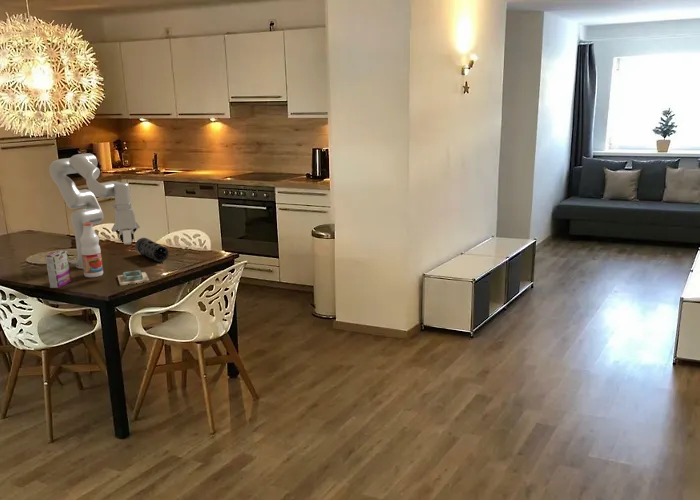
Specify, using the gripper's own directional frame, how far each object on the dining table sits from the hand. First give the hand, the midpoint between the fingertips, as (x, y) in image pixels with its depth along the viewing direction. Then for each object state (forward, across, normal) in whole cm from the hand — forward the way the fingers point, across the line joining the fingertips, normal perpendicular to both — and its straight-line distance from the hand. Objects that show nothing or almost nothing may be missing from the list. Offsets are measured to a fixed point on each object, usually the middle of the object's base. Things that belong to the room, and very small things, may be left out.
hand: (127, 241), depth 334 cm
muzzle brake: (+18, +14, +25) cm, 34 cm away
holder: (+17, 0, -14) cm, 22 cm away
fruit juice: (+17, -18, +4) cm, 25 cm away
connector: (+1, 0, 0) cm, 1 cm away
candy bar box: (+17, -34, -7) cm, 39 cm away
